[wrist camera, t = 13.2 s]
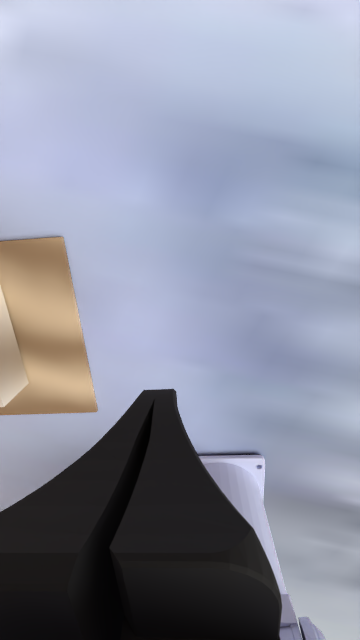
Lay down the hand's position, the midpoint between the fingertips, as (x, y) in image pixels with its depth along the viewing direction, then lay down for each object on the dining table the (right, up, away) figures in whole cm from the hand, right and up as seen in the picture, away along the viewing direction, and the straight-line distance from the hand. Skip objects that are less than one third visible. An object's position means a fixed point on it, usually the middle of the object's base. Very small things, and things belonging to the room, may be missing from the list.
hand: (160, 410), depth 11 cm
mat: (-13, +2, +10) cm, 16 cm away
